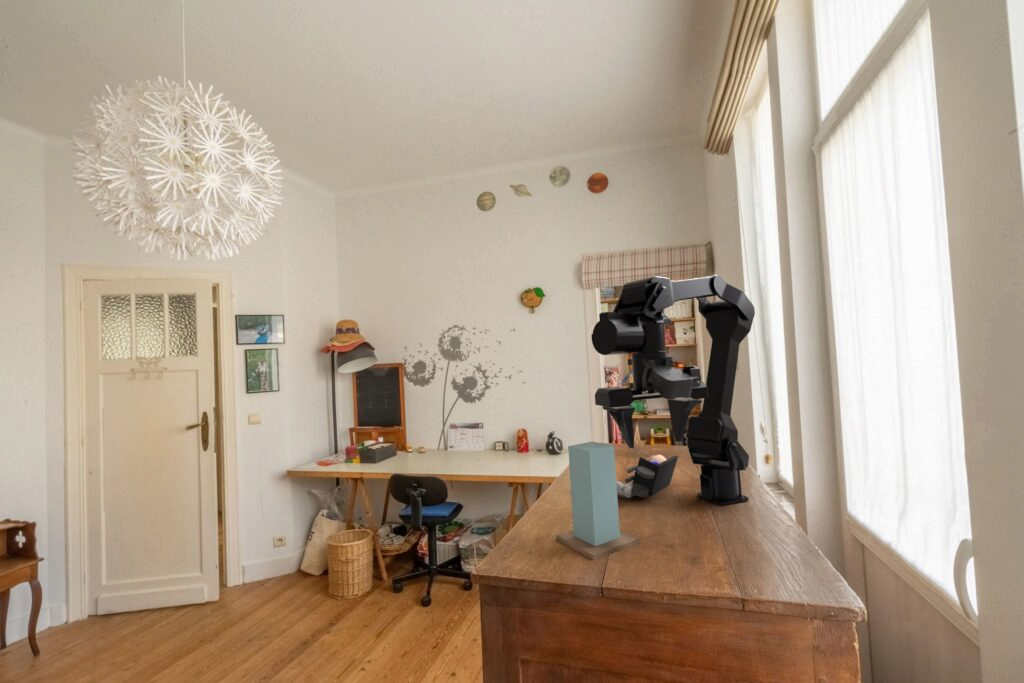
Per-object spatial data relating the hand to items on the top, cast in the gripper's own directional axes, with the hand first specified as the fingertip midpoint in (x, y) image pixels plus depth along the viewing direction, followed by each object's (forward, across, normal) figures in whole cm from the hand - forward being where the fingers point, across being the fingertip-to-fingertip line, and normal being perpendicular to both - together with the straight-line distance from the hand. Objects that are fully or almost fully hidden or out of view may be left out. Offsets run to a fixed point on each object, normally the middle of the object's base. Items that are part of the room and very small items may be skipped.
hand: (655, 444), depth 75 cm
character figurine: (+13, +9, +15) cm, 22 cm away
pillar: (+12, -13, -2) cm, 18 cm away
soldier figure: (+13, +1, +16) cm, 21 cm away
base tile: (+14, -13, -2) cm, 19 cm away
